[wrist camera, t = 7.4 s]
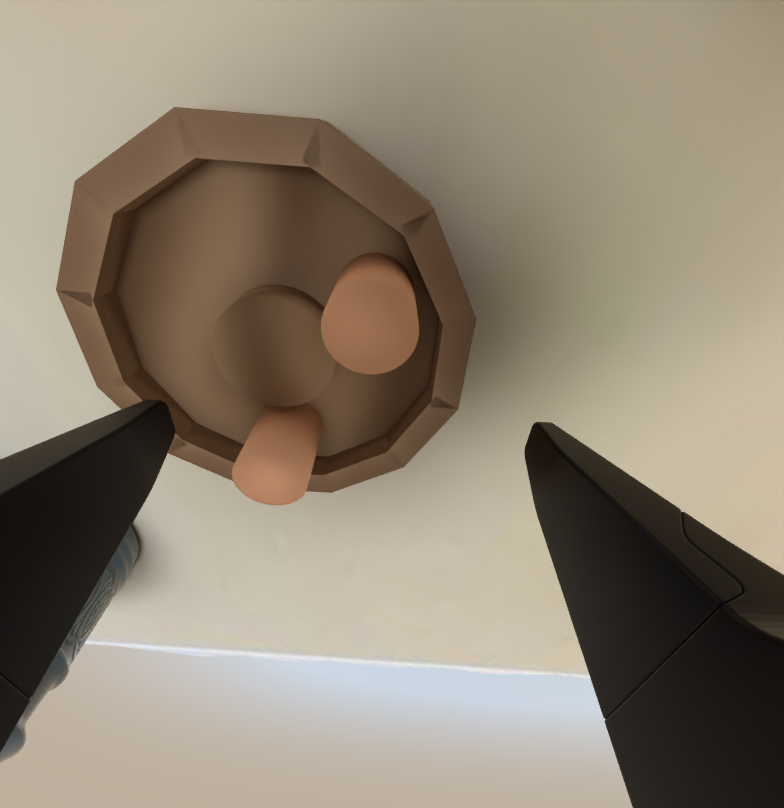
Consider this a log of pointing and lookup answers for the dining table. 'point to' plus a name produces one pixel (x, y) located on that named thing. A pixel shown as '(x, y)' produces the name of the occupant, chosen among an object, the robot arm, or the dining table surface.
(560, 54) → the dining table surface
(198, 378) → the groove tray
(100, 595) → the canister
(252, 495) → the bead
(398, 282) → the bead
